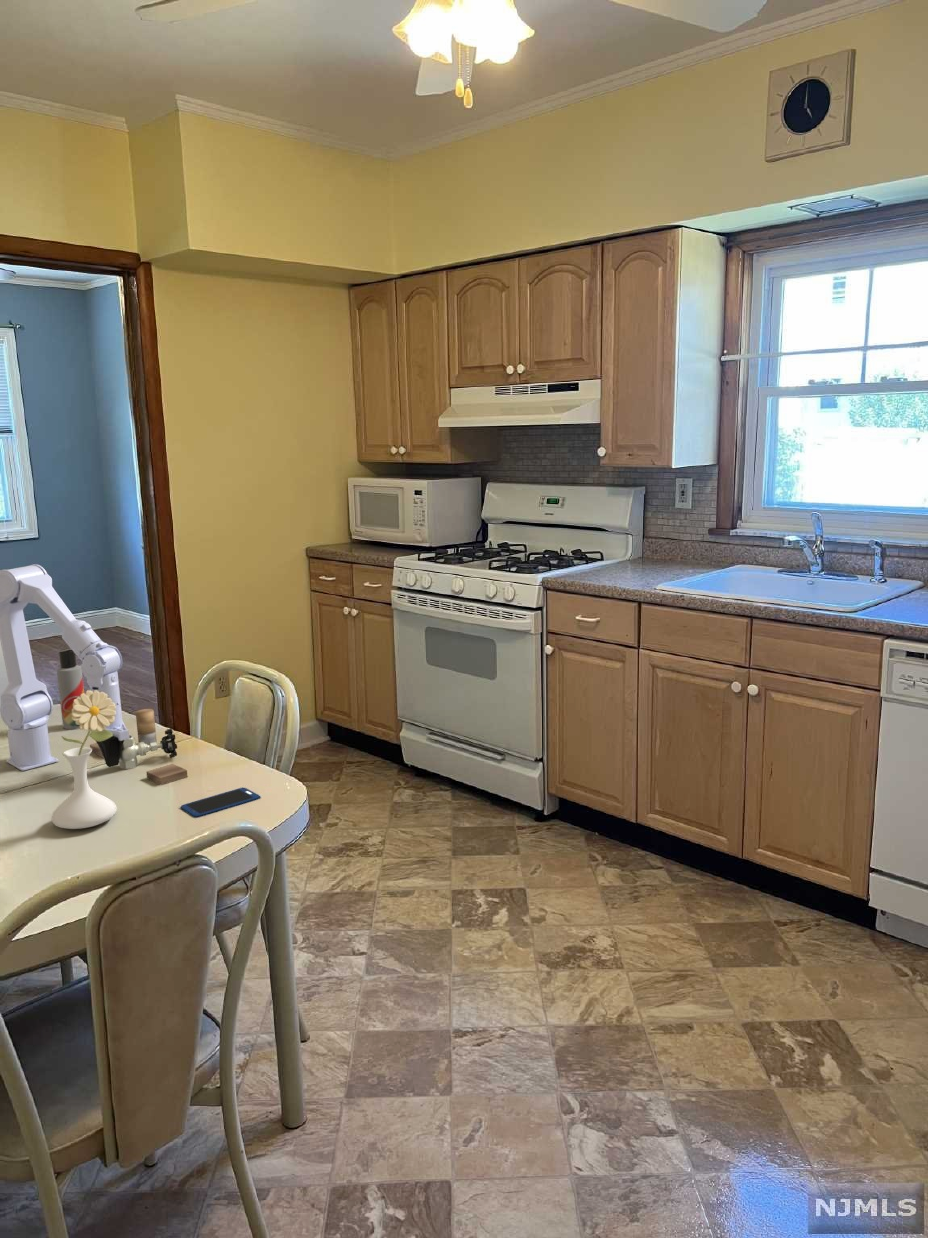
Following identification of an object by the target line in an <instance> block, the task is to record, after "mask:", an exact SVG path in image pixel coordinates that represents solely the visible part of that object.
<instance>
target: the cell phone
mask: <svg viewBox="0 0 928 1238" xmlns="http://www.w3.org/2000/svg"><path fill="white" fill-rule="evenodd" d="M260 799H261V795H259V794H258V793H256V792H254V791H252V790H250V789H248V788H247V787H244V786H243V787H239V788H235V789H232V790H229V791H225V792H222V793H218V794H215V795H211V796H208V797H204V798H200V799H197V800H194V801H191V802H187V803H184V804H182V805H181V806H180V810H182V811H184V812H185V813H187V814H188V815H189V816H192V817H193V818H196V819H197V818H201V817H205V816H208V815H211V814H215V813H219V812H222V811H225V810H228V809H231V808H235V807H237V806H241V805H242V806H243V805H245V804H248V803H251V802H255V801H257V800H260Z"/></svg>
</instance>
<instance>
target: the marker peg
mask: <svg viewBox="0 0 928 1238" xmlns="http://www.w3.org/2000/svg"><path fill="white" fill-rule="evenodd" d="M154 711H155V710H154V709H152V708H144V709H139V710H137V711H135V719H136V720H135V721H136V722H135V723H136V729H137V739H138V743H140V742H144V743H145V744H147V745H149V744H150V743H154V742H156V743H157V744H158V741H157V731H156V721H155V712H154Z"/></svg>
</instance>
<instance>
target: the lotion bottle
mask: <svg viewBox="0 0 928 1238" xmlns="http://www.w3.org/2000/svg"><path fill="white" fill-rule="evenodd" d="M58 656H59V667H58V668H56V679H57V686H58V694H59V703H60V714H61V720H62V721H61V722H62V727H63V728H64V729H65V730H76V729H77V730H78V729H80V725H77V724H76V723H75V722H76V721H74V720H72V709H73V703H74V700H75V699H76V698H78V697H79V698H81V697H80V695H81V694H83V693H85V690H84V689H85V688H84V679H83V672H82V669H81V665H78V663H77V655H76V654H75V653H74V651H73V650H72V649H71V648H70V647H68V648H63V649H62V650H60V651H59V650H58Z"/></svg>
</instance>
